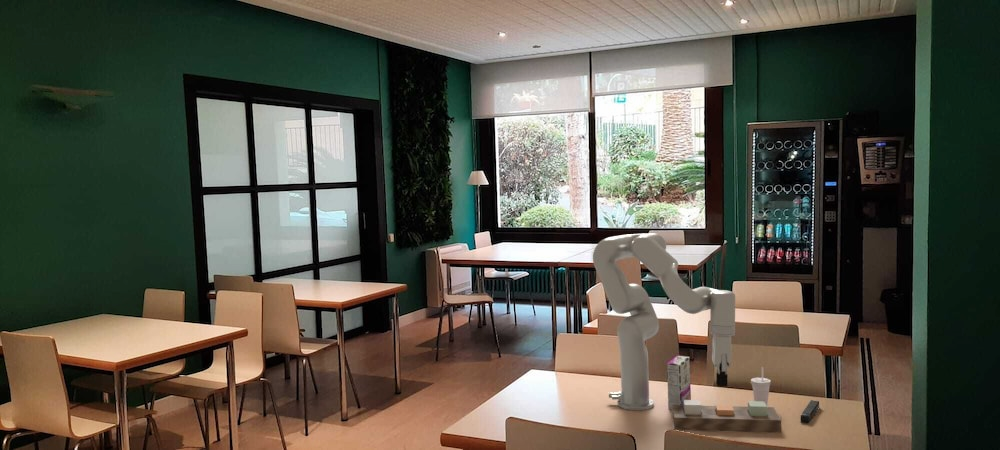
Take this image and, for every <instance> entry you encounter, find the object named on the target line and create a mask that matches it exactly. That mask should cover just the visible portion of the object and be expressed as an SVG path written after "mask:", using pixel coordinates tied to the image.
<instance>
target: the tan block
mask: <svg viewBox="0 0 1000 450" xmlns="http://www.w3.org/2000/svg"><path fill="white" fill-rule="evenodd" d="M715 406H716V415H732V416H734V410H733V407H732V406H733V405H732V404H715Z"/></svg>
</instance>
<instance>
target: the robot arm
mask: <svg viewBox="0 0 1000 450" xmlns="http://www.w3.org/2000/svg"><path fill="white" fill-rule="evenodd" d="M631 258H636V259H637V260H638V261H639V262H641V264H642V265H643V266H645V267H646V268H647V269H648V271H650V272H651V273H652V274H653V275H654V276H655V277H656V278H658V280H659V281H660V285H661V287H662V289H663V291H664V293H665V294H666V296H667V297H668V298H669V299H670V300H671V301H672V302H673V303H674V304H675V305H676V306H677V307H678V308H680V309H681V310H683V312H685V313H687V314H692V315H696V314H699V313H701V312H703V311H710V312H709V313H710V320H709V322H710V324H709V326H710V327H709V329H710V332H709V333H710V335H711V336H712V346H711V347H712V348H711V349H712V350H711V361H712V363H713V365H714V367H716V386H717V387H728V368H730V367H731V360H732V337H734V336H736V294H735V293H734V292H733V291H731V290H727V289H725V290H724V289H715V288H712V287H708V286H699V287H696V288H693V289H692V288H691V287H690V286H689V285H688V284H687V283H685V282H684V280H682V278H681V277H680V276H679V275H680V274H679V273H678V267H679V262H678V260H677V259H676V258H675V257H674V256H672V255H671V254H670V252H668V251H667V243H666V239H664V237H663V236H662V235H660V234H659V233H655V232H651V233H650V232H649V233H633V234H632V233H631V234H621V235H613V236H609V237H606V238H603V239H601V240H599V242H598V243H597V244H596V246H595V248H594V250H593V253H592V262H593V266H594V268H595V270H596V272H597V275H598V277H599V279H600V281H601V284H602V287H603V289H604V292H605V294H606V296H607V300H608V302H609V305H610V307H611V309H612V310H613V312H615V313H616V314H618V315H622V314H623V315H624V314H627V313H629V314H630V315H629V316H626V317H625V318H623V319H622V320H620V322H619V323H618V326H617V330H616V331H617V333H616V334H617V338H618V339H617V340H618V344H619V354H620V356H619V357H620V379H621V381H620V385H621V389H620V391H617V392H611V391H609V392H608V398H609V399H612V400H614V401H615V400H617V401H616V402H617V404H618V405H617V406H618V407H619V408H621V409H623V410H629V411H645V410H649V409H652V408H653V407H654V405H655V404H654V403H655V402H654V400H653V399H652V398H650V380H649V377H650V376H649V373H650V372H649V353H648V348H647V346H646V343H645V341H646V340H648V339H651V338H653V337H655V335H657V333H658V331H659V328H660V322H659V319H658V315H657V313H656V311H655V308H654V307H653V304H652V302H651V299H650V296H649V294H648V292H647V291H646V289H645V288H644V287H643V286H642V285H640V284H638V283H629V282H628V280H627V277H626V274H625V273H624V271H623V269H622V268H621V267H620V266H619V264H618V263H617V262H618V261H620V260H625V259H631Z"/></svg>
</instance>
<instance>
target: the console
mask: <svg viewBox="0 0 1000 450" xmlns="http://www.w3.org/2000/svg"><path fill="white" fill-rule="evenodd" d="M732 407H733V410H734V416H732V415H716V405H701V415H693V414H684V405H672V410H671V413H672V415H671V416H672V417H671V418H672V423H673V428H674V430H675V429H677V430H676V431H700V432H704V431H706V432H730V433H731V432H732V433H733V432H736V433H739V432H741V433H766V434H767V433H769V434H771V433H772V434H782V428H783V427H782V419H781V417H780V415H779V414H778V412H777V411H776V409H775V408H774V406H773V407H772V406H770V407H769V406H767V416H749V414H748V406H739V405H738V406H735V405H734V406H733V405H732Z"/></svg>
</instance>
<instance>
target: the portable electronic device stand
mask: <svg viewBox="0 0 1000 450" xmlns="http://www.w3.org/2000/svg"><path fill="white" fill-rule="evenodd" d="M818 408H819V409H820V401H819V400H815V399H811V400H810V401H808V404H807V405H806V406H805V408H804V409H803V411H802V413H801V414H800V423H803V424H807V425H808V424H810V423H811V421H812V419H814V417H815V416H816V414H817V412H818V411H819V409H818ZM817 410H818V411H817ZM815 413H816V414H815ZM813 416H814V417H813Z"/></svg>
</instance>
